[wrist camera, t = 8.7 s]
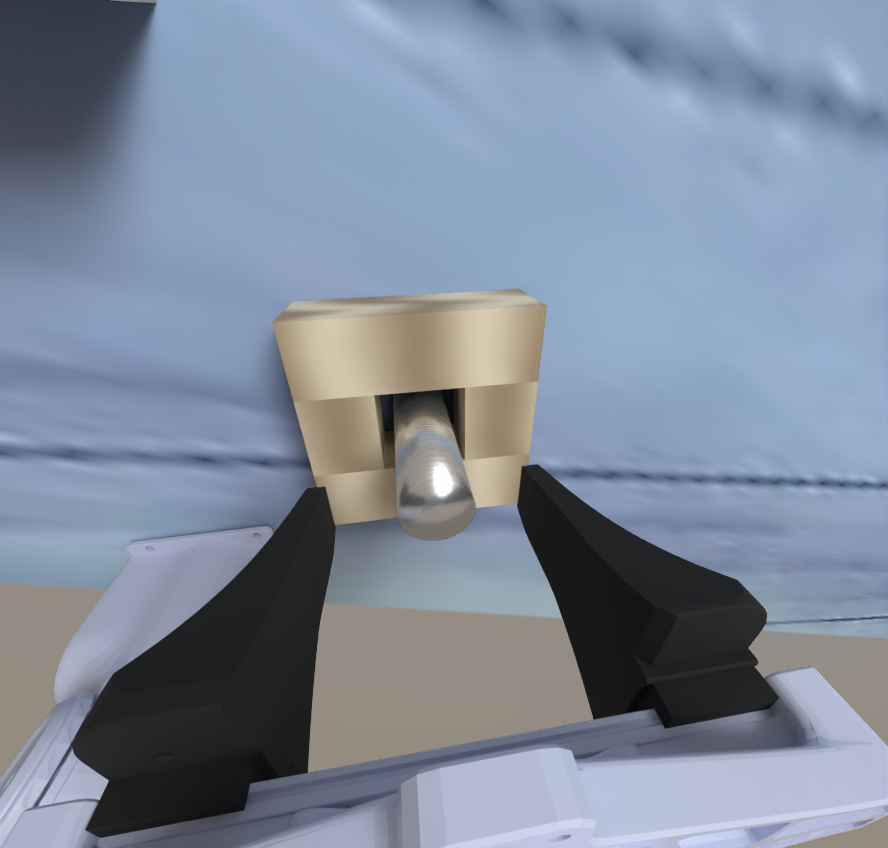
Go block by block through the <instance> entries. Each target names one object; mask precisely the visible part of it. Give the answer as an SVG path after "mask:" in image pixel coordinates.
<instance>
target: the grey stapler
mask: <svg viewBox="0 0 888 848" xmlns="http://www.w3.org/2000/svg"><path fill="white" fill-rule="evenodd" d="M112 1H129V2H145V3H156V2H157V0H112Z"/></svg>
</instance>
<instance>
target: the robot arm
mask: <svg viewBox="0 0 888 848" xmlns="http://www.w3.org/2000/svg"><path fill="white" fill-rule="evenodd" d="M517 507H518V511H519V514H520V517H521V520H522V523H523V526H524V529H525V532H526V534H527V536H528V539H529V541H530V543H531V545H532V547H533V549H534V552H535V554H536V556H537V558H538V560H539V562H540V564H541V566H542V569H543V571H544V573H545V575H546V577H547V579H548V581H549V583H550V586H551V588H552V591H553V593H554V595H555V598H556V601H557V604H558V607H559V609H560V612H561V615H562V618H563V621H564V624H565V627H566V629H567V633H568V636H569V639H570V642H571V645H572V648H573V651H574V654H575V657H576V661H577V664H578V667H579V670H580V674H581V677H582V680H583V684H584V687H585V690H586V694H587V698H588V701H589V704H590V708H591V712H592V715H593V719H594V720H590V721H584V722H579V723H573V724H568V725H562V726H557V727H552V728H546V729H541V730H535V731H531V732H525V733H519V734H514V735H509V736H504V737H498V738H492V739H487V740H483V741H476V742H471V743H466V744H460V745H455V746H449V747H444V748H439V749H433V750H428V751H423V752H417V753H412V754H407V755H401V756H396V757H390V758H386V759H380V760H374V761H369V762H364V763H359V764H353V765H347V766H342V767H337V768H331V769H326V770H321V771H316V772H310V773H308V757H309V738H310V724H311V710H312V697H313V685H314V673H315V661H316V652H317V643H318V632H319V626H320V619H321V614H322V609H323V604H324V599H325V594H326V589H327V585H328V580H329V575H330V570H331V565H332V560H333V554H334V543H335V528H336V527H335V523H334V519H333V515H332V511H331V507H330V503H329V499H328V495H327V491H326V487H315V488H307V490H306V491H305V492H304V493H303V495H302V496H301V498H300V499H299V500H298V502H297V503H296V505H295V506H294V507H293V509H292V510H291V512H290V513H289V514H288V516H287V517H286V518H285V520H284V521H283V522H282V524H281V525H280V526H279V527H278V529H277V530H276V531H275V533H274V532H273V530H272V528H270V527H268V526H261V527H252V528H244V529H236V530H227V531H219V532H211V533H202V534H194V535H185V536H177V537H169V538H160V539H152V540H144V541H135V542H131V543H130V544H129V545H128V546H127V547H126V551H127V552H128V554H129V555H130V557H131V558H130V559H129V560H128V562H127V563H126V565H125V566H124V567H123V569H122V570H121V571H120V573H119V574H118V575H117V577H116V578H115V580H114V581H113V582H112V584H111V585H110V586H109V588H108V589H107V590H106V592H105V593H104V595H103V596H102V597H101V599H100V600H99V601H98V603H97V604H96V606H95V607H94V608H93V610H92V611H91V612H90V614H89V615H88V616H87V618H86V619H85V621H84V622H83V623H82V625H81V626H80V627H79V629H78V630H77V631H76V633H75V634H74V636H73V637H72V639H71V640H70V642H69V644H68V646H67V647H66V649H65V651H64V654H63V656H62V658H61V661H60V664H59V667H58V670H57V674H56V678H55V686H54V692H55V699H56V703H57V705H56V706H55V707H54V708H53V709H52V710H51V711H50V712H49V713H48V715H47V716H46V717H45V718H44V719H43V721H42V722H41V723H40V725H39V726H38V727H37V729H36V730H35V731H34V732H33V734H32V735H31V736H30V738H29V739H28V740H27V742H26V743H25V744H24V746H23V747H22V748H21V750H20V751H19V753H18V754H17V755H16V757H15V758H14V760H13V761H12V763H11V764H10V765H9V766H8V768H7V769H6V771H5V772H4V774H3V775H2V776H1V778H0V848H784V847H787V846H791V845H795V844H798V843H802V842H806V841H810V840H813V839H817V838H821V837H824V836H829V835H832V834H837V833H841V832H845V831H849V830H853V829H856V828H861V827H863V826H865V825H867V824H870V823H872V822H874V821H876V820H878V819H880V818H882V817H884V816H886V815H888V746H887V745H886V744H885V743H884V742H883V741H882V740H881V739H880V738H879V737H878V736H877V735H876V734H875V733H874V731H872V729H871V728H870V727H869V726H868V725H867V724H866V723H865V722H864V721H863V720H862V719H861V718H860V717H859V715H857V713H856V712H855V711H854V710H853V709H852V708H851V707H850V706H849V705H848V704H847V703H846V701H845V700H844V699H843V698H842V697H841V696H840V695H839V694H838V693H837V692H836V691H835V690H834V689H833V688H832V687H831V686H830V684H829V683H828V682H827V681H826V680H825V679H824V678H823V677H822V676H821V675H820V674H819V673H818V671H816V669H815V668H813V667H809V666H808V667H803V668H797V669H792V670H786V671H781V672H776V673H773V674H770V675H768V676H766V677H765V678H763V677H762V676H761V674H760V673H759V672H758V671H757V669H756V668H755V667H754V666H756V665H757V664H758V660H757V658H756V657H755V656H754V655H753V654H752V652H751V651H750V650H749V649H748V647H749V646H750V645H751V643H752V642H753V641H754V639H755V638H756V637H757V636H758V634H759V633H760V632H761V630H762V629H763V627H764V626H765V624H766V619H767V612H766V610H765V608H764V607H763V606H762V605H761V604H760V603H759V602H758V601H757V600H756V599H755V598H754V597H753V596H752V595H751V594H750V593H749V591H748V590H747V589H746V588H745V587H744V586H743V585H742V584H741V583H740V582H739V581H738V580H736V579H733V578H731V577H728V576H725V575H723V574H720V573H717V572H715V571H712V570H709V569H707V568H704V567H701V566H699V565H696V564H694V563H692V562H689V561H687V560H685V559H682V558H680V557H678V556H676V555H673V554H671V553H669V552H667V551H665V550H663V549H661V548H659V547H657V546H655V545H653V544H651V543H649V542H647V541H645V540H643V539H641V538H639V537H638V536H636V535H634V534H632V533H630V532H629V531H627V530H625V529H624V528H622V527H620V526H619V525H617V524H615V523H614V522H612V521H611V520H609V519H608V518H606V517H605V516H603V515H602V514H600V513H599V512H597V511H596V510H594V509H593V508H592V507H590V506H589V505H587V504H586V503H585V502H583V501H582V500H581V499H579V498H578V497H577V496H576V495H574V494H573V493H572V492H570V491H569V490H568V489H567V488H565V487H564V486H563V485H562V484H561V483H559V482H558V481H557V480H556V479H555V478H553V477H552V476H551V475H550V474H549V473H547V472H546V471H545V470H544V469H543V468H541V467H540V466H539V465H538V464H537V465H527V466H522V469H521V478H520V487H519V495H518V504H517ZM256 533H258V534H256Z"/></svg>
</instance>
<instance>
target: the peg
mask: <svg viewBox="0 0 888 848" xmlns="http://www.w3.org/2000/svg"><path fill="white" fill-rule="evenodd" d="M393 411H394V436H395V462H396V487H397V512H398V521H399V524H400V526H401V527H402V528H403V530H404V531H405V532H407V533H408V534H409V535H411V536H413V537H415V538H418V539H422V540H442V539H446V538H449V537H452V536H454V535H456V534H458V533H460V532H461V531H463V530H464V529H465V528H466V527H467V526H468V525H469V524H470V523H471V521H472V520H473V518H474V515H475V511H476V504H475V500H474V497H473V494H472V490H471V487H470V484H469V481H468V477H467V474H466V471H465V468H464V464H463V461H462V458H461V454H460V451H459V448H458V445H457V441H456V438H455V435H454V432H453V428H452V425H451V422H450V419H449V415H448V412H447V409H446V405H445V402H444V399H443V396H442V392H441V390H432V391H420V392H408V393H396V394H393Z"/></svg>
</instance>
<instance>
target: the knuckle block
mask: <svg viewBox="0 0 888 848" xmlns="http://www.w3.org/2000/svg"><path fill="white" fill-rule="evenodd" d="M546 309H547V305H545V304H543V303H542V302H540V301H538V300H537V299H535V298H533V297H532V296H530V295H528V294H527V293H525V292H523V291H522V290H520V289H510V290H493V291H475V292H458V293H440V294H423V295H405V296H388V297H371V298H353V299H336V300H318V301H301V302H292V303H291V304H290V305H289V306H288V307H287V308H286V309H285V310H284V311H283V312H282V313H281V314H280V315H279V316H278V317H277V318H276V319H275V320H274V321H273V322H272V325H273V329H274V333H275V336H276V340H277V344H278V347H279V351H280V355H281V358H282V362H283V366H284V369H285V373H286V376H287V380H288V384H289V387H290V391H291V395H292V398H293V402H294V406H295V409H296V413H297V417H298V420H299V424H300V427H301V431H302V435H303V438H304V442H305V446H306V449H307V453H308V457H309V460H310V464H311V468H312V471H313V475H314V478H315V482H316V486H317V487H326V491H327V495H328V499H329V503H330V507H331V511H332V515H333V519H334V523H335V525H341V524H349V523H358V522H366V521H374V520H382V519H391V518H398V512H397V487H396V462H395V436H394V430H388V431H384V423H383V416H382V408H381V401H380V395H385V394H396V393H408V392H420V391H432V390H443V389H453V418H454V424H451V425H452V428H453V432H454V435H455V438H456V441H457V445H458V448H459V451H460V454H461V458H462V461H463V464H464V468H465V471H466V474H467V477H468V481H469V484H470V487H471V490H472V494H473V497H474V500H475V504H476V508H481V507H489V506H497V505H506V504H514V503H518V495H519V487H520V478H521V469H522V466H527V465H528V462H529V454H530V445H531V437H532V428H533V420H534V411H535V403H536V394H537V386H538V377H539V368H540V360H541V351H542V343H543V334H544V326H545V317H546Z"/></svg>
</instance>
